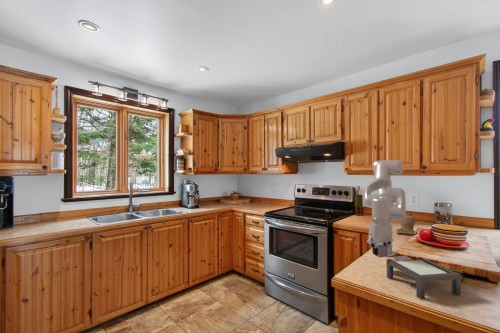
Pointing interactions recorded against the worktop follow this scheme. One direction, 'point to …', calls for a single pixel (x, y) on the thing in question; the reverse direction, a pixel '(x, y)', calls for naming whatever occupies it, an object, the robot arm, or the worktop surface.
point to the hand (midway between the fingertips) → (380, 253)
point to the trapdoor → (418, 266)
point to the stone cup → (407, 225)
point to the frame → (427, 276)
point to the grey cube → (382, 250)
